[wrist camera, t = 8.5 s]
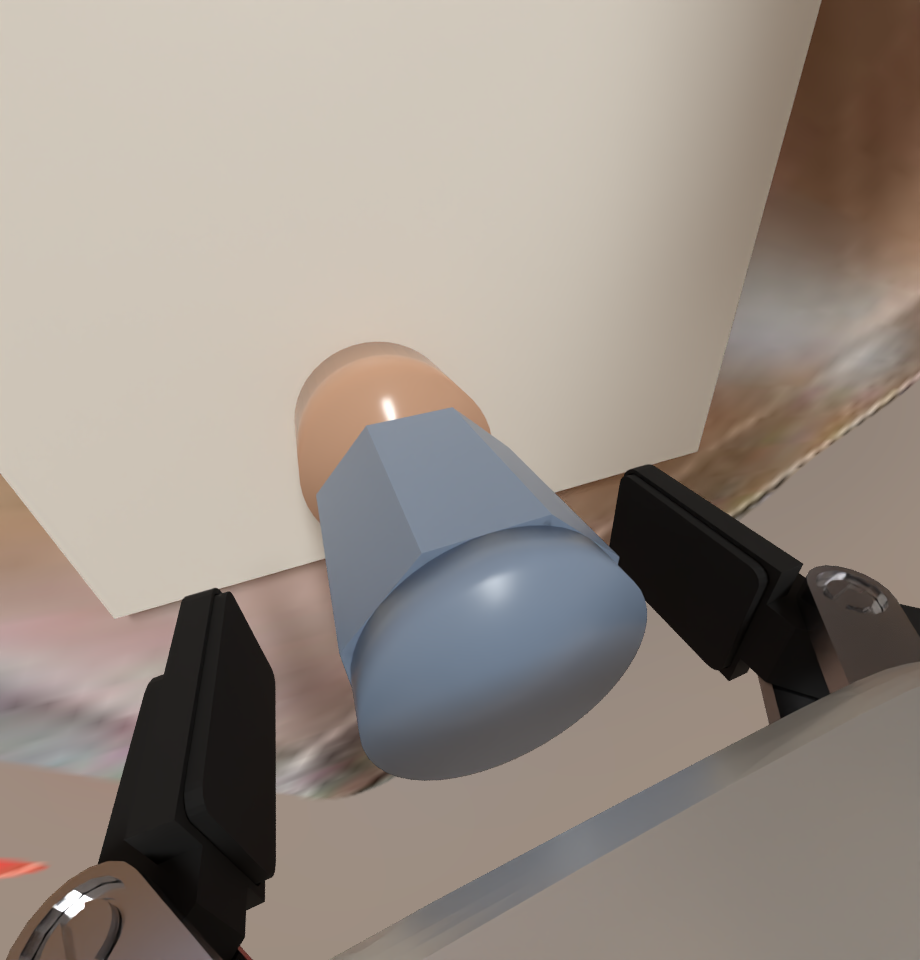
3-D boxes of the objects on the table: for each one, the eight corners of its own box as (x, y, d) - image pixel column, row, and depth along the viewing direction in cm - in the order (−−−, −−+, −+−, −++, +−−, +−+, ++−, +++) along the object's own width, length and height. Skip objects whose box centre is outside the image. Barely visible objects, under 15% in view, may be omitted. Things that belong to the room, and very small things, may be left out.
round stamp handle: (447, 329, 16) (654, 462, 7) (459, 471, 20) (608, 676, 11) (271, 357, 14) (266, 573, 6) (318, 507, 18) (360, 783, 9)
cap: (508, 395, 11) (674, 522, 7) (509, 546, 15) (624, 709, 10) (299, 439, 10) (320, 641, 5) (348, 597, 13) (389, 816, 8)
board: (811, -60, 15) (842, -76, 14) (684, 444, 26) (697, 451, 25) (-482, -210, 7) (-577, -263, 6) (121, 601, 18) (114, 618, 17)
